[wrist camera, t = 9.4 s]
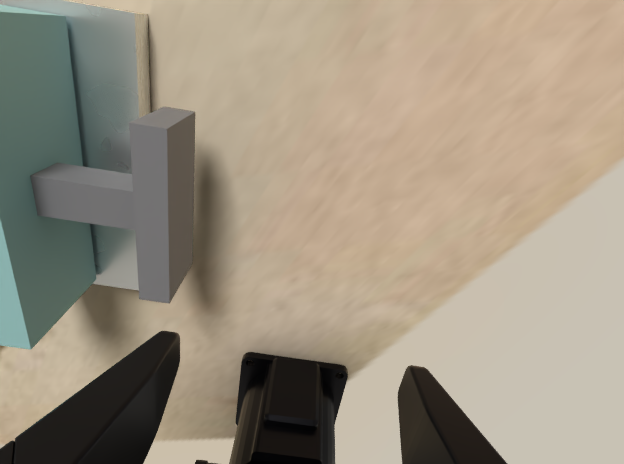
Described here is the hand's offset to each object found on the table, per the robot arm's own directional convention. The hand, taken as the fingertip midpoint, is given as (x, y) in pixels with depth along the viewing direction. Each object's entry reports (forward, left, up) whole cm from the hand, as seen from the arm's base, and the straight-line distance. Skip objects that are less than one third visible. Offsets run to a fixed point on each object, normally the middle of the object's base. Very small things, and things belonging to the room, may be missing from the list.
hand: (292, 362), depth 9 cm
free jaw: (0, +9, -10) cm, 13 cm away
